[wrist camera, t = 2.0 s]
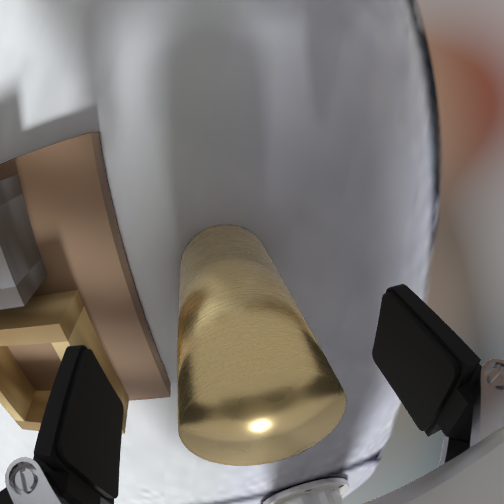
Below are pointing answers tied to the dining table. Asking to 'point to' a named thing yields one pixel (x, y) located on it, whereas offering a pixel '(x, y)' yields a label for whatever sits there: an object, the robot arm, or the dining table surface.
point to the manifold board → (66, 281)
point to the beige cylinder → (247, 357)
